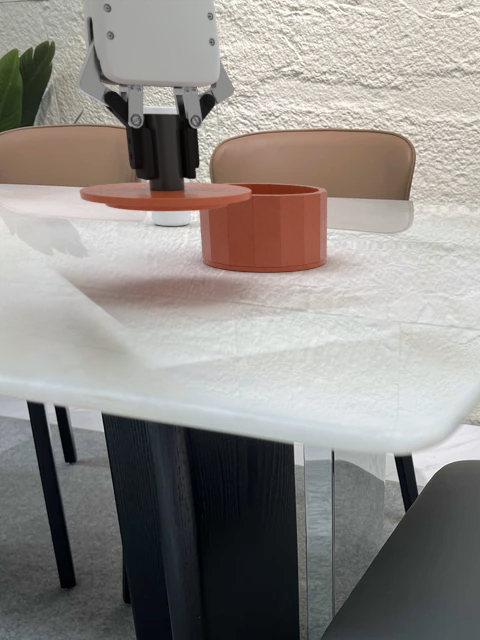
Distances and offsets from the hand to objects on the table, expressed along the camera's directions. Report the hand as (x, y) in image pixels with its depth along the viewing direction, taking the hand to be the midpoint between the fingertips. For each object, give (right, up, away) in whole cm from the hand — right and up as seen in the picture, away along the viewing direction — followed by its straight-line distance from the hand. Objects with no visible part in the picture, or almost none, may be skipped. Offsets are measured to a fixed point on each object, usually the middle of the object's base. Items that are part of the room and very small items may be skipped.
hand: (166, 176), depth 67 cm
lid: (0, -1, +1) cm, 2 cm away
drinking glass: (-10, +10, +42) cm, 44 cm away
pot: (+6, -2, +19) cm, 20 cm away
